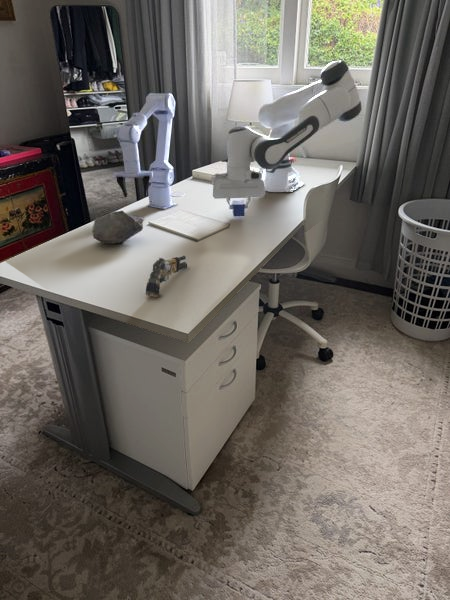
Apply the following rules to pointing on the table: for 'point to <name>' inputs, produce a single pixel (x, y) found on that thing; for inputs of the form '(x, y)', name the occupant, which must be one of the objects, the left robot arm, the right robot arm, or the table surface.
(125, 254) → the table surface
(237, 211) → the block
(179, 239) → the table surface
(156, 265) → the toy gun
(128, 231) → the stone
